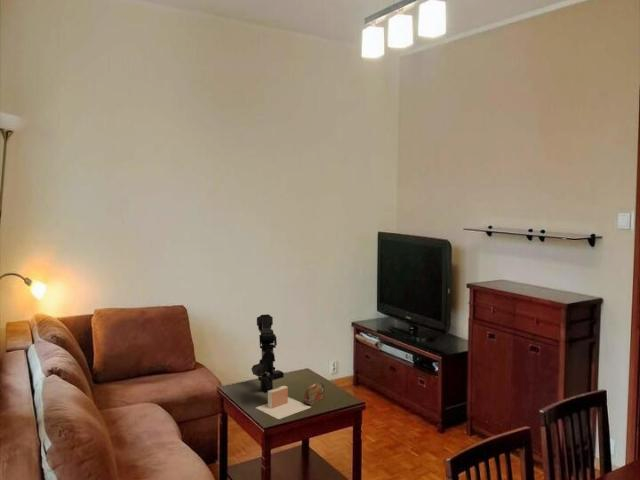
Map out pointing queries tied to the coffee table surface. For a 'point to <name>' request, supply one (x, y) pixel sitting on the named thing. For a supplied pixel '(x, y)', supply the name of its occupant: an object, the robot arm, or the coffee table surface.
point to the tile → (277, 397)
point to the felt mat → (284, 409)
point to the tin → (314, 393)
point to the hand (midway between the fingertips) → (267, 388)
